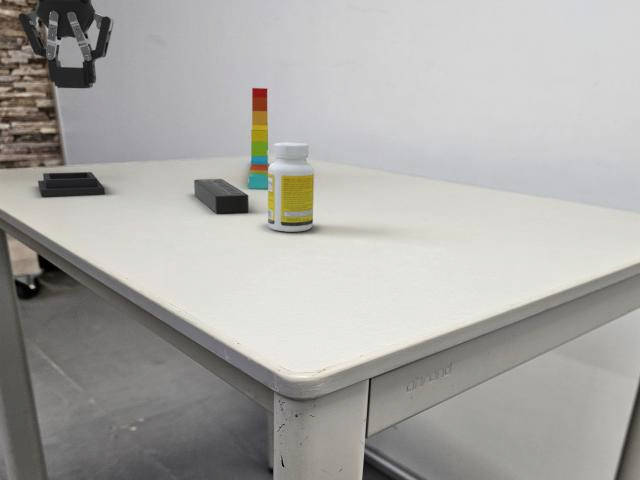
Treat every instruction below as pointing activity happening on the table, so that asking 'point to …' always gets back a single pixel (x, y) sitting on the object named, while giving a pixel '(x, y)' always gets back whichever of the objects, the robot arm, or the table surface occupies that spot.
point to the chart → (259, 140)
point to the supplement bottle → (290, 188)
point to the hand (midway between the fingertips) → (74, 86)
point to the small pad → (70, 77)
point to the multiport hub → (221, 196)
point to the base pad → (70, 184)
